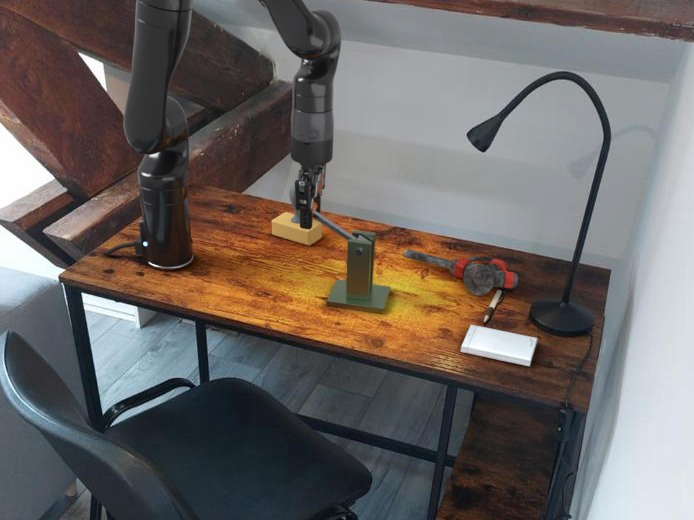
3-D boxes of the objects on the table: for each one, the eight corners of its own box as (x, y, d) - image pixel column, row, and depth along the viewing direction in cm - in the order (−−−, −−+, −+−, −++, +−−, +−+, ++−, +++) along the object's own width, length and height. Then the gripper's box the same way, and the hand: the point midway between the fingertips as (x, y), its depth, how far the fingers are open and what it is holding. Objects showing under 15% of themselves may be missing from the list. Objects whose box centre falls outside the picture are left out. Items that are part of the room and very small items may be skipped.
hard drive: (538, 337, 147) (471, 322, 149) (531, 360, 140) (461, 345, 143) (536, 344, 148) (470, 330, 150) (529, 368, 141) (460, 352, 144)
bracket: (326, 306, 155) (327, 243, 148) (336, 284, 163) (338, 223, 155) (382, 313, 154) (386, 250, 146) (390, 291, 161) (394, 230, 154)
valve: (532, 285, 170) (504, 304, 158) (425, 256, 182) (391, 271, 170) (538, 256, 168) (509, 273, 156) (428, 229, 179) (394, 242, 167)
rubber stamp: (322, 237, 181) (323, 186, 174) (308, 246, 176) (309, 194, 170) (285, 226, 184) (285, 176, 178) (271, 235, 180) (270, 184, 173)
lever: (299, 219, 148) (305, 209, 147) (307, 208, 153) (313, 198, 151) (361, 260, 150) (368, 251, 149) (367, 248, 155) (373, 238, 154)
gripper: (301, 118, 148) (300, 204, 157) (280, 143, 136) (280, 234, 146) (341, 123, 147) (338, 209, 156) (323, 148, 135) (320, 240, 145)
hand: (310, 221), depth 151 cm, fingers closed on lever, 5 cm apart
